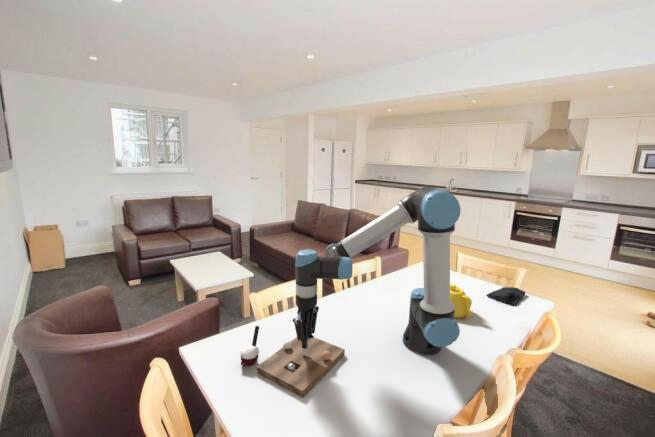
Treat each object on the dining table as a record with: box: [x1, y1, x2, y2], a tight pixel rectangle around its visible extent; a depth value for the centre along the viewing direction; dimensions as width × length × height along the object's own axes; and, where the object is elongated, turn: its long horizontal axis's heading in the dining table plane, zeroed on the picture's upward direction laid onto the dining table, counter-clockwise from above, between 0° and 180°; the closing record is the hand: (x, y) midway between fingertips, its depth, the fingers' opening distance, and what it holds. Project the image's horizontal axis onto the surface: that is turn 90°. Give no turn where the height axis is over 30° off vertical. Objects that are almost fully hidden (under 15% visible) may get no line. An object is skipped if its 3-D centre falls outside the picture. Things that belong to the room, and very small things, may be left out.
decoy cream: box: [282, 339, 292, 349], centre depth 118 cm, size 3×3×3 cm
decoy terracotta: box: [322, 351, 331, 360], centre depth 112 cm, size 3×3×3 cm
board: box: [256, 336, 346, 399], centre depth 113 cm, size 20×26×2 cm
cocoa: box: [239, 325, 260, 367], centre depth 112 cm, size 10×6×12 cm, turn 133°
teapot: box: [450, 283, 473, 319], centre depth 156 cm, size 25×18×14 cm
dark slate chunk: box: [486, 286, 526, 307], centre depth 174 cm, size 15×22×5 cm
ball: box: [287, 363, 296, 373], centre depth 109 cm, size 3×3×3 cm
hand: (306, 354), depth 114 cm, fingers closed
